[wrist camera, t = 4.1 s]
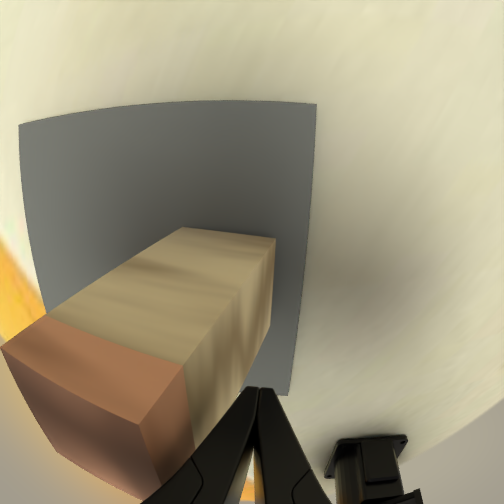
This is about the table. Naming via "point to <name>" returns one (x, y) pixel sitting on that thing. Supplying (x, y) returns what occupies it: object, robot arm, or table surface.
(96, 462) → the pine block
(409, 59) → the table surface
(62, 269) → the rubber mat
